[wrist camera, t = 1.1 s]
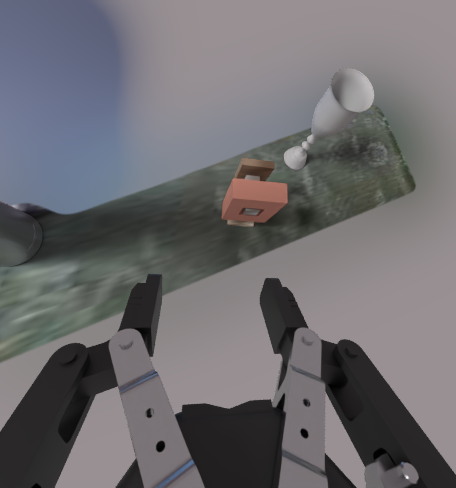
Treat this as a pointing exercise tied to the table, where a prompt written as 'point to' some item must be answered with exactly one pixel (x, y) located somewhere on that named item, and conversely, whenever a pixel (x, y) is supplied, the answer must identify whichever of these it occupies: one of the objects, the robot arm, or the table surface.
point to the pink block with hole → (253, 199)
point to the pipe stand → (252, 171)
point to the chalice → (334, 111)
